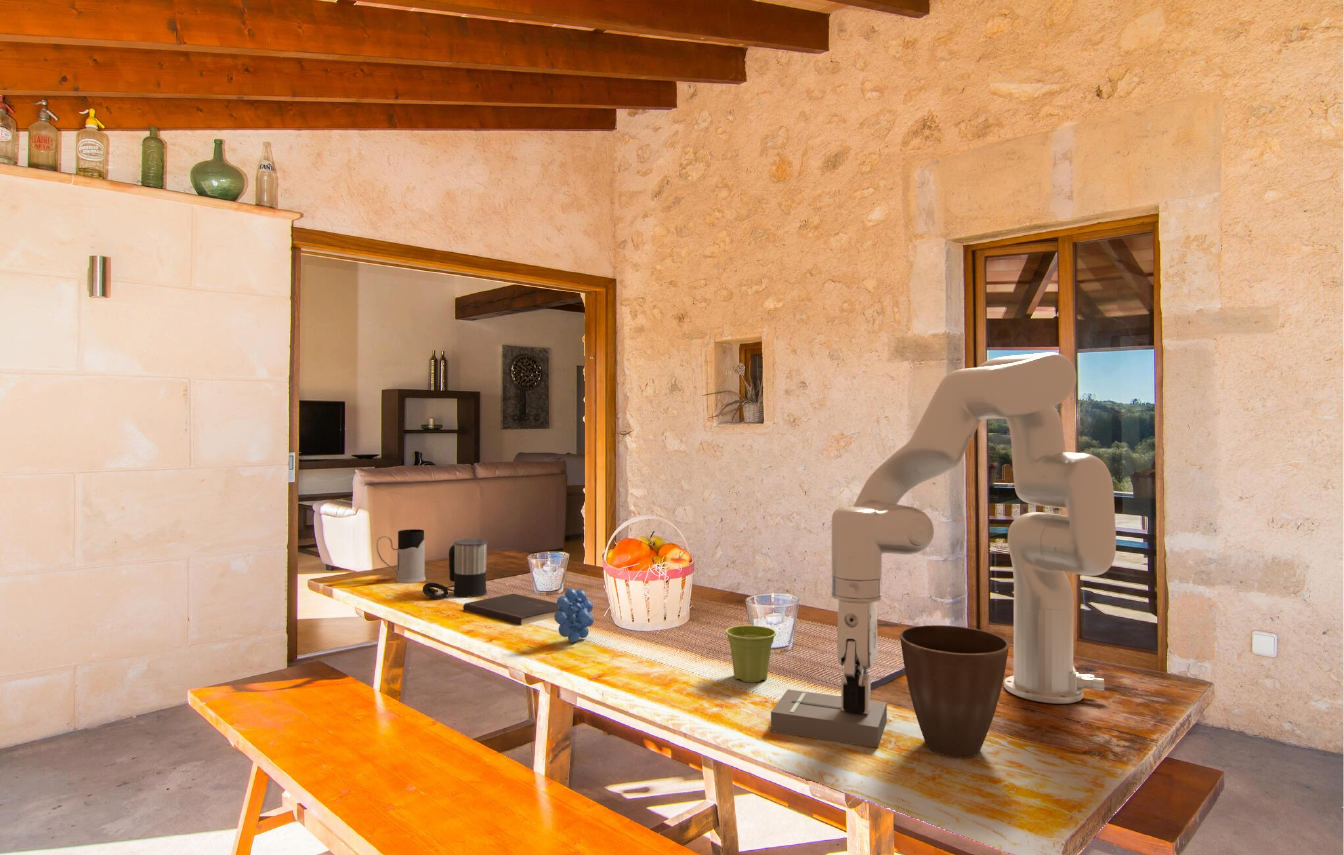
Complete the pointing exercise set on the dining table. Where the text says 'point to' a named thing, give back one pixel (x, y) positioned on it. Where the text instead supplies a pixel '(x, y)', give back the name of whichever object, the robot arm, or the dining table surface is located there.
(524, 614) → the hardcover book
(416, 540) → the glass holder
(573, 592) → the grapes
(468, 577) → the milk frother
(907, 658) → the plant pot
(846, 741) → the block
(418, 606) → the dining table surface
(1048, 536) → the robot arm
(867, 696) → the block
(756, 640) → the plant pot
